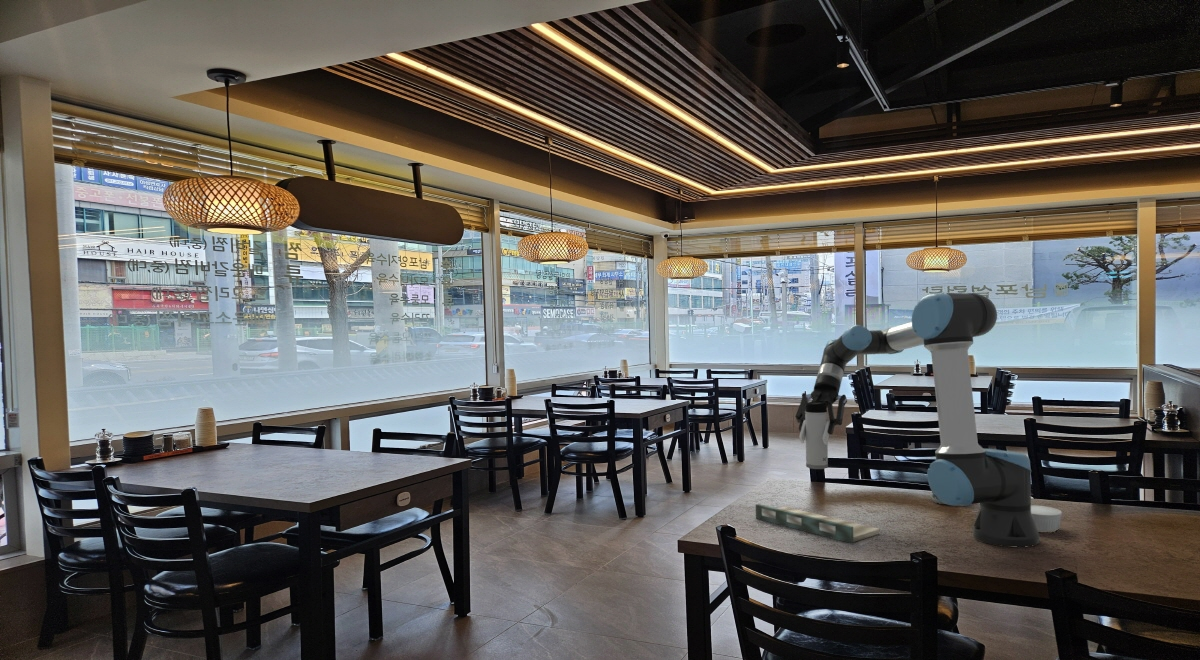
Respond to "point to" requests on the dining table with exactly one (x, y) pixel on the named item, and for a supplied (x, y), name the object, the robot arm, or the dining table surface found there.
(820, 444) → the travel mug
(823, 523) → the shelf
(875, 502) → the dining table surface
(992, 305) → the robot arm
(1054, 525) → the ramekin
